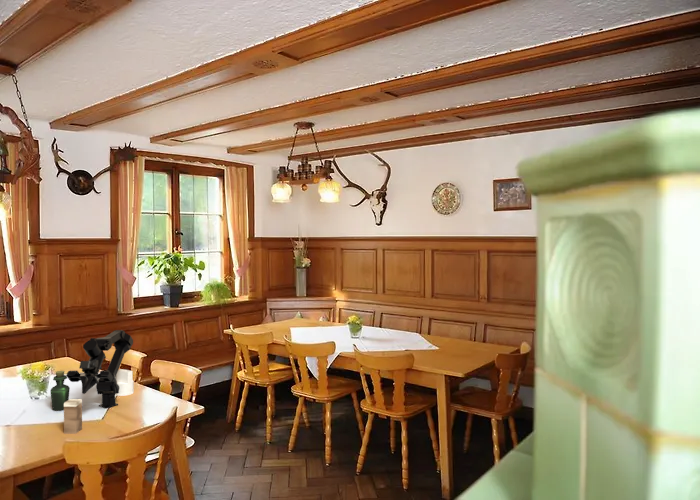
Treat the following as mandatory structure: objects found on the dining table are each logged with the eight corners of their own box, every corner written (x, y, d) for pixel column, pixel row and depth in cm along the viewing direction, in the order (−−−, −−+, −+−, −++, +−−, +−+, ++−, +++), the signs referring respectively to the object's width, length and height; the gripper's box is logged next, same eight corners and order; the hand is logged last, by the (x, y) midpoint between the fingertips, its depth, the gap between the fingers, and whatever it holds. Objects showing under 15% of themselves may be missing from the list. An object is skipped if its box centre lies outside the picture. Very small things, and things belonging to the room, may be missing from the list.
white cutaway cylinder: (137, 392, 273) (137, 369, 272) (123, 396, 264) (123, 373, 264) (125, 389, 276) (125, 367, 276) (111, 394, 268) (111, 371, 268)
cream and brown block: (70, 429, 220) (70, 399, 219) (82, 429, 220) (81, 399, 220) (64, 433, 215) (63, 403, 214) (76, 433, 215) (75, 403, 215)
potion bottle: (53, 407, 248) (52, 370, 247) (71, 405, 250) (71, 369, 250) (48, 412, 240) (47, 374, 239) (67, 411, 242) (67, 373, 242)
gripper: (68, 352, 230) (54, 384, 220) (109, 353, 231) (98, 384, 220) (77, 365, 238) (64, 396, 228) (117, 366, 239) (106, 396, 228)
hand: (83, 393), depth 226 cm, fingers closed
